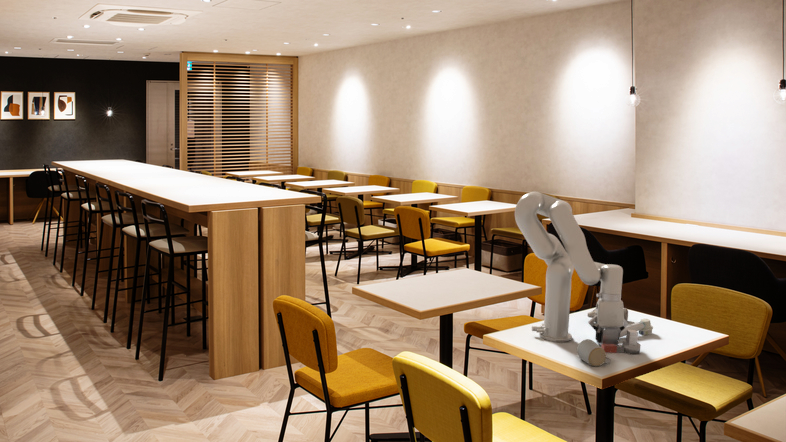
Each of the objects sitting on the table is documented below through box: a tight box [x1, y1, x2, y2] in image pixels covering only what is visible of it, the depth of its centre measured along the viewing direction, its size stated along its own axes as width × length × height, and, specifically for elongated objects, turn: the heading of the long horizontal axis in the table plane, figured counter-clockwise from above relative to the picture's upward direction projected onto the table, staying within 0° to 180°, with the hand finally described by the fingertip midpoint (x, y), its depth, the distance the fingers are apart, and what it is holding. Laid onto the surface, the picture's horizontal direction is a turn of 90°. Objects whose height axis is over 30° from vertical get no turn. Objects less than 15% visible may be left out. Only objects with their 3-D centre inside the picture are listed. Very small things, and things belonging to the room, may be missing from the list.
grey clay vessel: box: [587, 307, 629, 322], centre depth 264 cm, size 16×9×15 cm
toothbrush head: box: [619, 318, 654, 339], centre depth 244 cm, size 5×7×25 cm
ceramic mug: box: [576, 339, 611, 367], centre depth 213 cm, size 11×8×8 cm
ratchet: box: [600, 330, 641, 356], centre depth 226 cm, size 14×6×8 cm, turn 91°
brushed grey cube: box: [598, 327, 620, 346], centre depth 233 cm, size 6×6×7 cm
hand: (607, 341), depth 234 cm, fingers closed on brushed grey cube, 6 cm apart
